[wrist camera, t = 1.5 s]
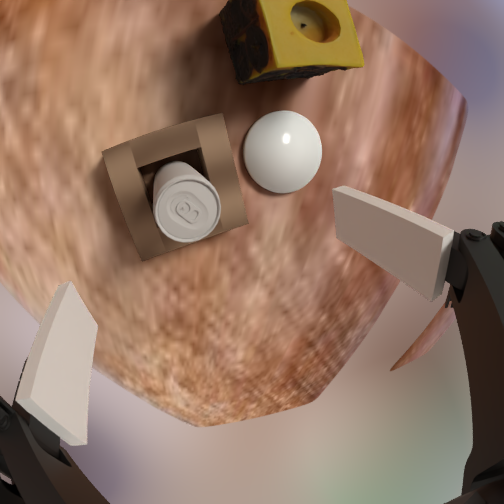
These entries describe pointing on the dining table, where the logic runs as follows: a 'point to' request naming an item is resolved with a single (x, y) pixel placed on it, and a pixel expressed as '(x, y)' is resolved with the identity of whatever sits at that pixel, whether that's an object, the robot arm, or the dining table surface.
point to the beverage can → (184, 202)
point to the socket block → (162, 146)
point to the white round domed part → (282, 151)
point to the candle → (289, 38)
